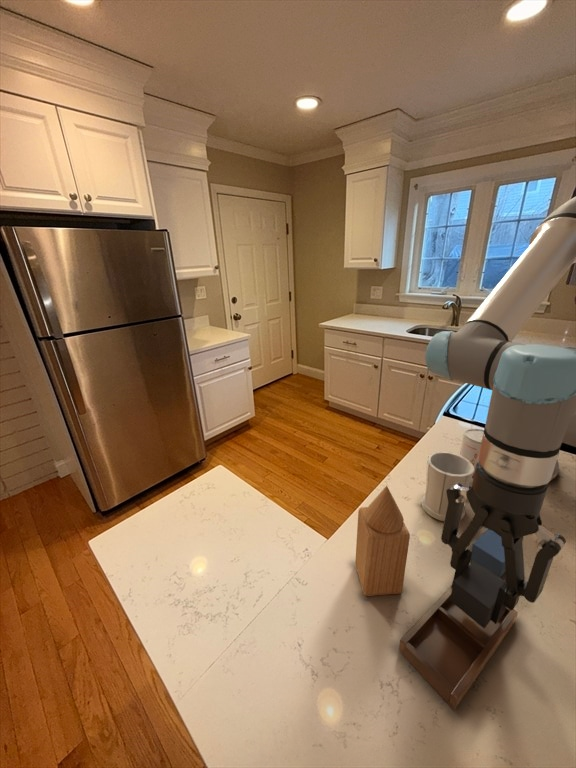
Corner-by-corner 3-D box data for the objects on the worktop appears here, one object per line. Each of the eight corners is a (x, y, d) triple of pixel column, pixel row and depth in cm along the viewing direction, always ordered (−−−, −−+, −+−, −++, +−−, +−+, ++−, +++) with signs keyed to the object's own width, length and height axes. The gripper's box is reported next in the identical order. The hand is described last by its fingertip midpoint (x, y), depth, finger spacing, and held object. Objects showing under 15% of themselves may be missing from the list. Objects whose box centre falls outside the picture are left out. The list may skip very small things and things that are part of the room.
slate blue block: (484, 543, 62) (488, 527, 61) (513, 561, 58) (518, 545, 57) (468, 559, 59) (472, 543, 58) (498, 579, 55) (503, 563, 54)
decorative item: (364, 598, 53) (371, 501, 46) (354, 562, 59) (359, 473, 52) (403, 595, 53) (417, 498, 46) (389, 560, 59) (399, 470, 52)
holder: (461, 581, 55) (463, 572, 54) (515, 621, 49) (518, 611, 48) (398, 649, 46) (399, 640, 45) (454, 710, 40) (457, 700, 39)
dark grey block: (469, 578, 52) (473, 560, 50) (503, 603, 48) (509, 584, 46) (449, 600, 48) (453, 581, 47) (484, 628, 44) (489, 609, 43)
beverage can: (462, 500, 73) (473, 443, 68) (448, 481, 80) (458, 428, 74) (490, 499, 73) (504, 443, 68) (475, 481, 79) (487, 428, 74)
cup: (459, 494, 75) (468, 450, 71) (481, 523, 67) (492, 476, 62) (414, 495, 75) (420, 451, 71) (431, 525, 67) (438, 477, 63)
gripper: (427, 449, 45) (409, 570, 53) (598, 530, 31) (537, 676, 39) (456, 432, 49) (435, 547, 57) (618, 497, 35) (559, 636, 43)
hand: (476, 600), depth 48 cm, fingers closed on dark grey block, 5 cm apart
